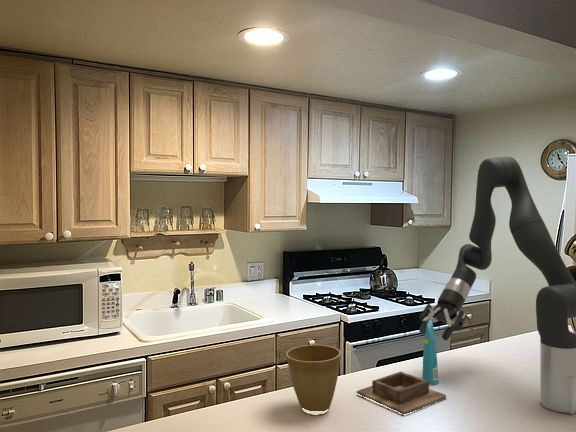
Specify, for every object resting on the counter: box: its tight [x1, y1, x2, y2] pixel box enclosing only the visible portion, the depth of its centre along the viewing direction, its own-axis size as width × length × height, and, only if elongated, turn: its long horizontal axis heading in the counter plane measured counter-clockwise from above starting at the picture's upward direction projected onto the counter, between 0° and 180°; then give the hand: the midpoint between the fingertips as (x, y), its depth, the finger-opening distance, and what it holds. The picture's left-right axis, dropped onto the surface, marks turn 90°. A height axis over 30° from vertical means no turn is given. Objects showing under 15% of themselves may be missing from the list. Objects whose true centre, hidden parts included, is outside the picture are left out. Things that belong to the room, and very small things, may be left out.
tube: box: [421, 319, 439, 386], centre depth 151 cm, size 7×5×19 cm, turn 160°
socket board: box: [356, 371, 447, 414], centre depth 140 cm, size 18×18×5 cm
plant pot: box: [286, 344, 342, 411], centre depth 132 cm, size 15×15×16 cm
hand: (432, 335), depth 151 cm, fingers open, 8 cm apart
